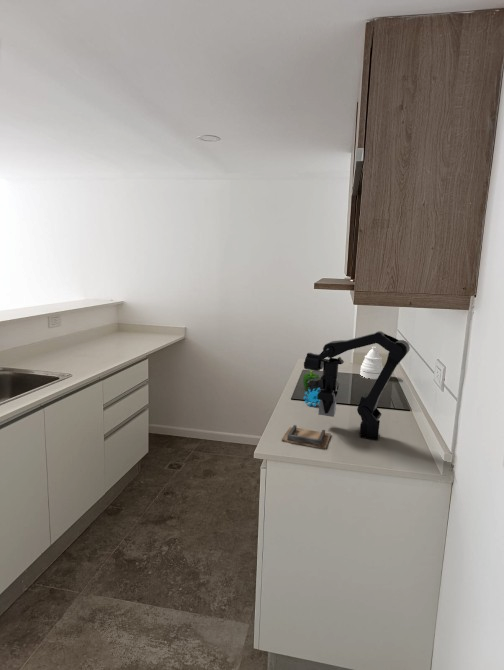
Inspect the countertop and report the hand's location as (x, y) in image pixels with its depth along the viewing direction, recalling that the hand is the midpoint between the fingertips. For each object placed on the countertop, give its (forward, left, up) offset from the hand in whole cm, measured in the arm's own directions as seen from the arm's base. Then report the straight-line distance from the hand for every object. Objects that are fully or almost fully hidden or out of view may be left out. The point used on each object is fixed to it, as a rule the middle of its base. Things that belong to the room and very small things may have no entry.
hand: (327, 411), depth 168 cm
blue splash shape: (+9, -23, -6) cm, 26 cm away
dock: (+5, +15, -6) cm, 17 cm away
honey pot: (-13, -89, -6) cm, 90 cm away
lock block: (0, 0, -1) cm, 1 cm away
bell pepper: (+15, -46, -6) cm, 49 cm away
